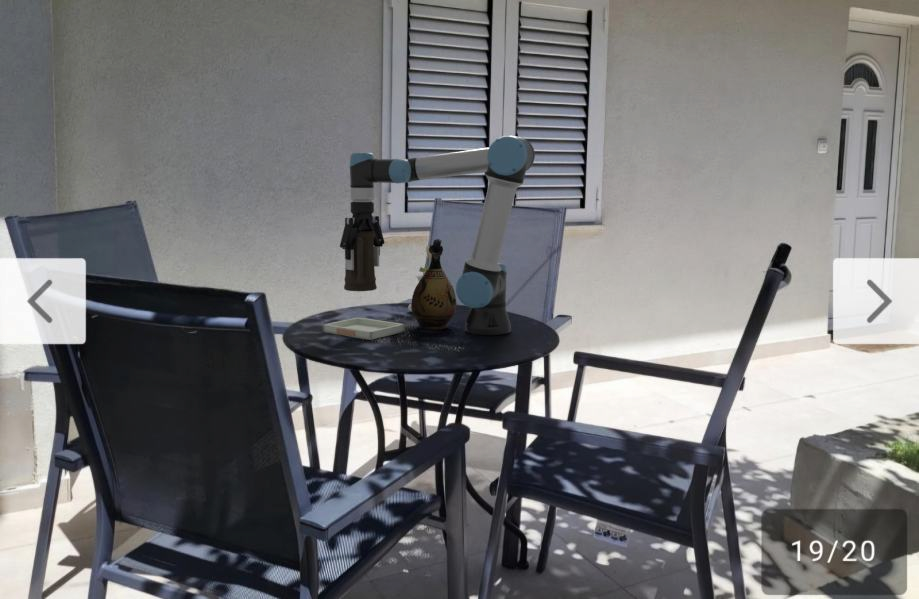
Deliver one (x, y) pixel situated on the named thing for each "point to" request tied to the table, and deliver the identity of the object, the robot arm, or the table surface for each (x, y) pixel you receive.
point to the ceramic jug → (434, 294)
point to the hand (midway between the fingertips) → (363, 268)
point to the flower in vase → (423, 270)
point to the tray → (364, 328)
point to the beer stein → (362, 264)
